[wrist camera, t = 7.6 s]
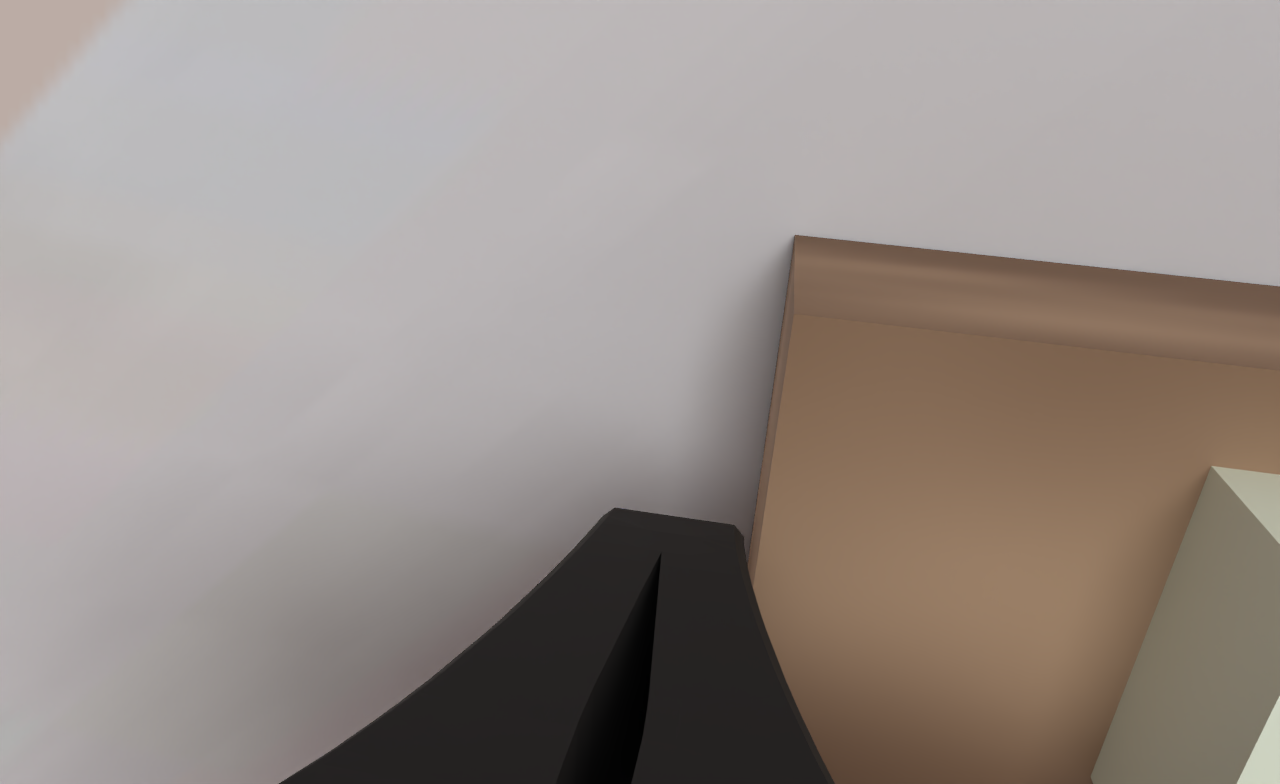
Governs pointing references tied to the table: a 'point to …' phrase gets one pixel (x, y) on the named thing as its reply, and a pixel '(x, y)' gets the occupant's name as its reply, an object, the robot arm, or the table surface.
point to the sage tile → (1209, 651)
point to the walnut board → (989, 495)
